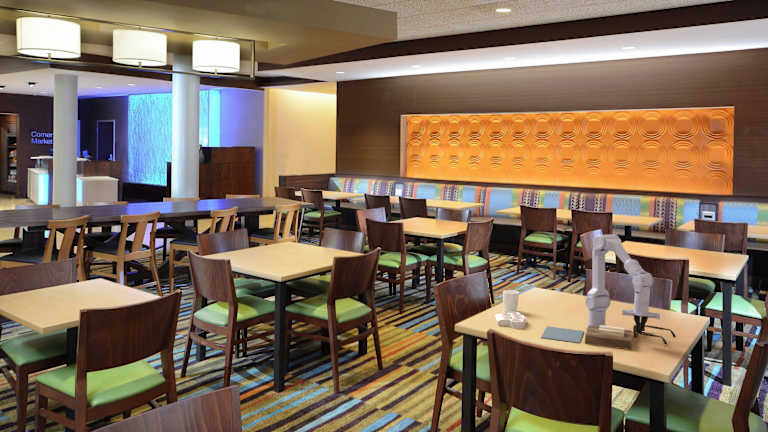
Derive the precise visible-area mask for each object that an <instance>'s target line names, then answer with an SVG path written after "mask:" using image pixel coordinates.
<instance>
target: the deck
mask: <svg viewBox="0 0 768 432" xmlns="http://www.w3.org/2000/svg"><path fill="white" fill-rule="evenodd" d="M587 326H588V328H587V327H586V332H585V336H584V344H587V345H595V346H602V347H610V348H616V347H619V348H618V349H623V348H627V349H626V350H630V349H632V337H633V330H630V329H624V337H618V336H610V335H603V334H599V327H598V326H590V325H588V324H587Z"/></svg>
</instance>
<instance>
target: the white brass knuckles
mask: <svg viewBox="0 0 768 432" xmlns="http://www.w3.org/2000/svg"><path fill="white" fill-rule="evenodd" d="M494 317H495V321H496V323H497V325H498V326H500V325H502V326H501V327H510V328H512V329H519V330H520V329H524V328H525V326H526V324H528V323H529V321H528V320H527V318H526V316H525V315H524V314H521V312H518V311H517V312H500V313H497V314H495V316H494Z"/></svg>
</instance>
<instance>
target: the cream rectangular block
mask: <svg viewBox="0 0 768 432" xmlns="http://www.w3.org/2000/svg"><path fill="white" fill-rule="evenodd" d="M624 330H626V328H625V327H619V326H609V325H606V326H603V325H600V327H599V334H603V335H610V336H618V337H624Z"/></svg>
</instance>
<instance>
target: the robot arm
mask: <svg viewBox="0 0 768 432" xmlns="http://www.w3.org/2000/svg"><path fill="white" fill-rule="evenodd" d="M592 246H593V247H592V252H591V253H592V256H591V257H592V259H591V260H592V262H591V265H592V267H591V268H592V270H591V271H592V272H591V273H592V275H591V277H592V280H591V282H592V283H591V284H592V285H591V288H590V290H589V291H588V292H587V293H586V299H585V306H586V307H587V309H588V322H587V323H588V324H587V326H586V329H587V328H588V325H590V326H598V327H600V325H603V326H607V324H606V317H607V316H606V315H607V310H608V308H609V307H610V305H611V299H610V292H609V291H608V290H607V289H606V254H607V253H609V252H613V253H614V254H615V256H616V257H618V259H619V260H620V261H621V262H622V263H623V268H624V269H625V271H626V273H628V274H629V276H630V277H631V279H632V280H631V283H632V285H633V290H634V301H633V309H622V310H621V312H622V313H621V315H622V316H630V317H633V320H634V322H635V325H636V326H637V330H638V335H641V334H642V333H643V332H642V330H643V327H644V325H647V324H646V323H647V322H648V320H649V319H656V320H661V313H656V312H651V311H650V310H649V309H650V308H649V307H650V296H651V295H650V294H651V287H653V285H654V282H655V281H654V277H653V275H652V273H650V272H647V271H645V270H644V269H643V267H642V266H641V264H640V263H639V261H638V260H636V259H632V258H631V256H630V255H629V254H628V252H627V250H626V249H625V248H624V246H623V245H622V240H621V238H620V237H619V235H618V234H616V233H613V234H598V235H596V236H595V237H594V238H593V239H592ZM640 322H641V326H640Z"/></svg>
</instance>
